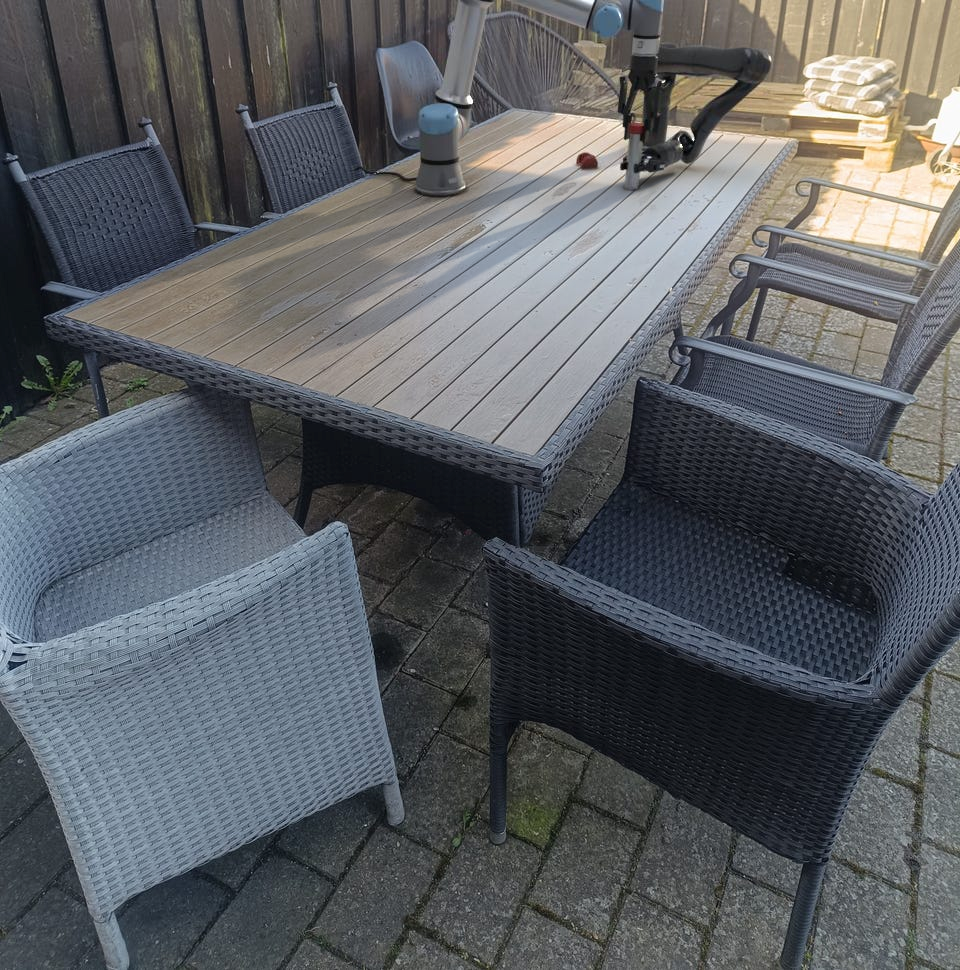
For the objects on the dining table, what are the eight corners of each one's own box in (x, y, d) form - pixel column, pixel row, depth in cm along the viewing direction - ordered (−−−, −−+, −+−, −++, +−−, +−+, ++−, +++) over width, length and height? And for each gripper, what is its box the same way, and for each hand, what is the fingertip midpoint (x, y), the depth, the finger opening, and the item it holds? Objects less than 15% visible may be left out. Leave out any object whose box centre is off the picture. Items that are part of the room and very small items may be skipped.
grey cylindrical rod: (624, 189, 258) (631, 127, 248) (623, 185, 262) (629, 124, 251) (638, 189, 258) (645, 127, 248) (637, 185, 262) (643, 124, 251)
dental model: (591, 148, 281) (599, 155, 275) (590, 161, 283) (599, 168, 277) (575, 150, 280) (583, 157, 274) (574, 163, 282) (582, 170, 276)
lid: (629, 133, 249) (630, 126, 247) (627, 129, 253) (628, 122, 251) (645, 133, 249) (646, 126, 247) (643, 129, 252) (644, 122, 251)
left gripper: (609, 53, 240) (602, 138, 254) (669, 59, 232) (659, 147, 245) (621, 49, 245) (614, 133, 259) (680, 55, 237) (669, 142, 250)
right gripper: (640, 140, 267) (609, 151, 256) (679, 148, 259) (649, 159, 249) (637, 165, 271) (607, 176, 261) (676, 173, 263) (646, 185, 253)
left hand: (635, 140), depth 252 cm, fingers open, 5 cm apart
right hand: (628, 168), depth 255 cm, fingers closed on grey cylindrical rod, 4 cm apart
